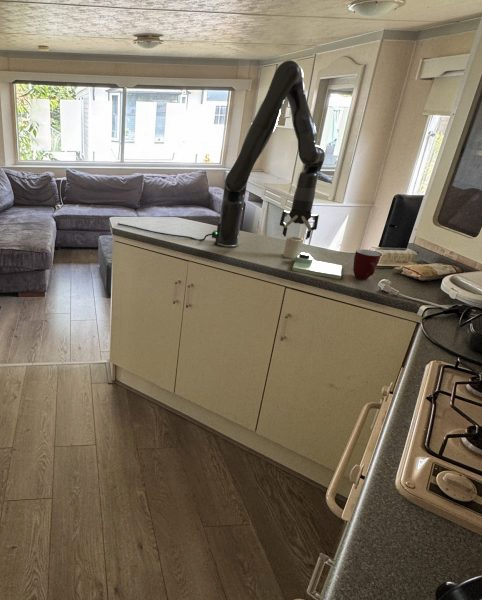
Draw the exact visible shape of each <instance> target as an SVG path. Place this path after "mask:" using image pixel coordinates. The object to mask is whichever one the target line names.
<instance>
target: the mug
mask: <svg viewBox="0 0 482 600" xmlns="http://www.w3.org/2000/svg"><path fill="white" fill-rule="evenodd" d="M381 256H382V254H381V253H380V252H378V251H374V250H370V249H363V248H359V249H356V250H355V253H354V256H353V266H352V267H353V268H352V270H353V271H352V272H353V275H354V277H355V279H357V280H362V281H366V280H368V279H369V278H370V277H372V276H374V274H375V271H376V268H377V266H378V264H379V262H380V260H381Z"/></svg>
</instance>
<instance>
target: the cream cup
mask: <svg viewBox="0 0 482 600" xmlns="http://www.w3.org/2000/svg"><path fill="white" fill-rule="evenodd" d="M303 240H304V239H303V238H301V237H298V236H295V235H294V236H292V235H290V236H289V235H288V236H286V240H285V244H284V250H283V253H282V254H283V255H282V256H283V257H284V258H286V259H290V260H295V257H296V255H300V253H301V249H302V246H303V245H302V244H303Z"/></svg>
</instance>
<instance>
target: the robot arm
mask: <svg viewBox="0 0 482 600" xmlns="http://www.w3.org/2000/svg"><path fill="white" fill-rule="evenodd" d="M304 82H305V81H304V71H303V68H302V67H301V66H300V65H299V64H298V63H297V62H296V61H294V60H290V59H289V60H285V61H283V62H281V63H280V64H279V65H278V66H277V68H276V69H275V71H274V73H273V77H272V79H271V81H270V84H269V87H268V90H267V92H266V94H265V97H264V99H263V101H262V102H261V105H260V106H259V108H258V110H257V112H256V114H255V116H254V118H253V119H252V122H251V124H250V126H249V128H248V130H247V131H246V134H245V137H244V140H243V142H242V145H241V148H240V150H239V151H240V152H239V154H238V156H237V158H236V160H235V162H234V163H233V165H232V167H231V168H230V170H229V171H228V172H227V174H226V176H225V178H224V187H223V196H222V199H221V200H222V201H221V208H220V215H219V220H218V221H219V222H218V223H217V227H216V230H213V231H212V232H211V233H207V234H206V235H204V237H203V238H201V239H199V238H195V237H192V236H187V235H180V234H172V233H166V232H159V231H154V230H151V229H145V228H141V227H137V226H133V225H129V224H125V223H120V222H118V223H117V225H119V226H123V227H127V228H133V229H136V230H140V231H143V232H144V231H145V232H149V233H153V234H157V235H162V236H163V235H165V236H168V237H169V236H170V237H177V238H185V239H191V240H196V241H201V242H203V241H205V240H206V238H207V237H209V236H211V238H212V239H215V241H214V245H218V246H220V247H223V248H224V247H225V248H235V247H238V242H239V238H240V229H241V222H242V217H243V211H244V210H243V209H244V204H245V198H246V192H247V185H248V181H249V178H250V176H251V173H252V171H253V168H254V167H255V164H256V162H257V161H258V159H259V157H260V156H261V154H262V153H263V152H264V150H265V148H266V146H267V145H268V143H269V141H270V139H271V138H272V135H273V134H274V132H275V129H276V127H277V125H278V121H279V117H280V115H281V110H282V106H283V104H284V101H285V100H286V99H287V102H288V105H289V109H290V116H291V123H292V127H293V130H294V134H295V137H296V140H297V150H298V157H299V160H300V162H301V164H303V169H302V171H300V172H299V174H298V178H297V182H296V187H295V190H294V194H293V200H292V204H291V210H290V211H287V210H283V211H282V213H281V216H280V221H279V226H280V227H283V229H282V235H283V237H286V238H287V233H288V229H289V227H288V226H290V225H291V224H292V223H294V224H300V225H303V224H304V226H305V227H306V229H307V231H306V236H305V240H308V239H310V238H311V235H312V231H316V230H317V229H318V224H319V217H320V215H319V214H318V213H316V214H313V213H312V209H313V206H314V200H315V196H316V188H317V183H318V177H319V174H320V173H321V170H322V167H323V165H324V161H325V158H326V152H325V151H326V150H325V149H324V148H323V147H322V146H320V145H317V143H316V137H317V129H316V126H315V123H314V119H313V116H312V113H311V110H310V108H309V104H308V101H307V96H306V91H305V84H304ZM287 216H289V218H290V219H288V221H287V222H285V218H286V217H287ZM310 219H312V220H313V226H312V225H311V223H310V221H309V220H310Z"/></svg>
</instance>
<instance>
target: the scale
mask: <svg viewBox="0 0 482 600" xmlns="http://www.w3.org/2000/svg"><path fill="white" fill-rule="evenodd" d="M291 271H293V272H297V273H304V274H308V275H313V276H319V277H326V278H330V279H337V280H341V279H342V271H343V265H342V264H336V263H330V262H325V261H319V260H314V257H312V256H311V255H310V257H309V259H304V258H300V254H299V255H296V257H295V259H294V263H293V265H292V268H291Z"/></svg>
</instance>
